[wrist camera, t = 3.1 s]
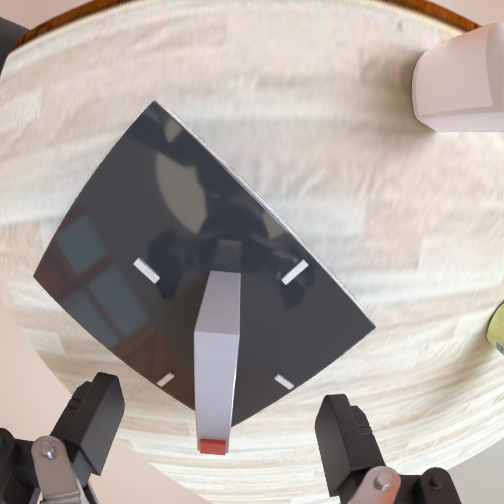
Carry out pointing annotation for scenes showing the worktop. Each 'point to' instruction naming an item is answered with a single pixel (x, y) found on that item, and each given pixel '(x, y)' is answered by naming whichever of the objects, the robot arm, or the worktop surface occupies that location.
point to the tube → (497, 330)
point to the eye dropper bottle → (462, 83)
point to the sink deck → (193, 268)
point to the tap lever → (216, 360)
